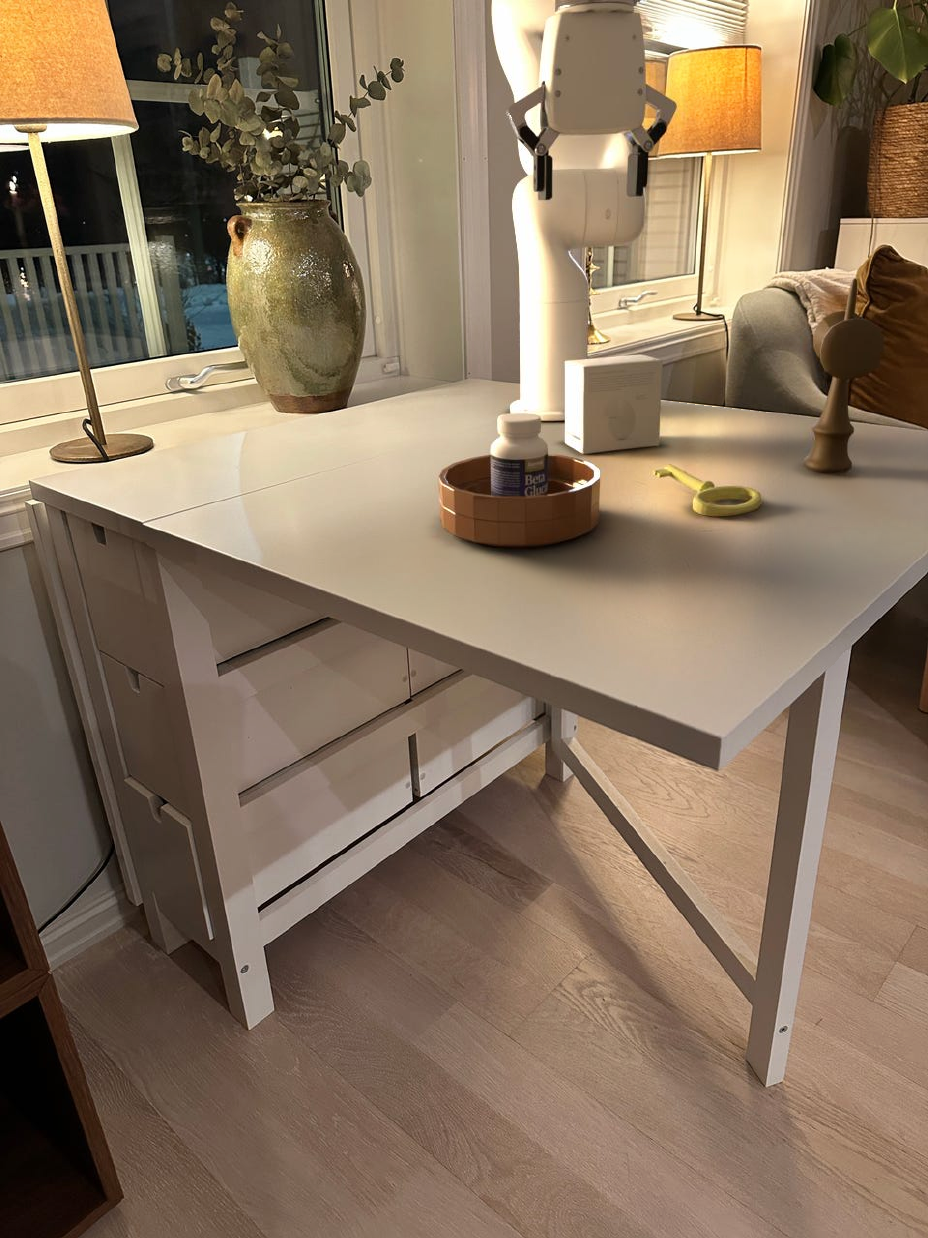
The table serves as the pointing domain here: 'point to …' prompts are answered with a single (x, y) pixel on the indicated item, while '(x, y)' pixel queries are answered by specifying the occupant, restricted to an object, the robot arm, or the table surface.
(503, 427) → the pill bottle
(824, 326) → the kendama
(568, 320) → the robot arm
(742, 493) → the key
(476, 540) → the bowl
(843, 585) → the table surface
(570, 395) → the cosmetics box
